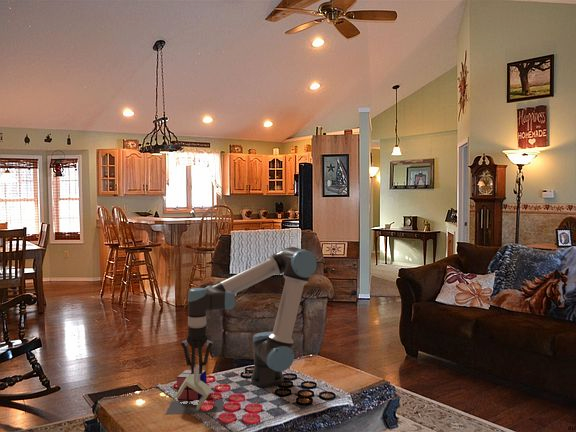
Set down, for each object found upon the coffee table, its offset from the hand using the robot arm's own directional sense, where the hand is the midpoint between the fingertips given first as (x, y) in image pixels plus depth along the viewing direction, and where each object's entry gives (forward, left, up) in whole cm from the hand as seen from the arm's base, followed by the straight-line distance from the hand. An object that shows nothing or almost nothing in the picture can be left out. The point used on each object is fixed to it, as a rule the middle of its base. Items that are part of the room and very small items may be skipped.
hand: (196, 381), depth 217 cm
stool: (-3, 0, -8) cm, 8 cm away
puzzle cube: (+4, -12, -11) cm, 17 cm away
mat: (+1, 0, -11) cm, 11 cm away
